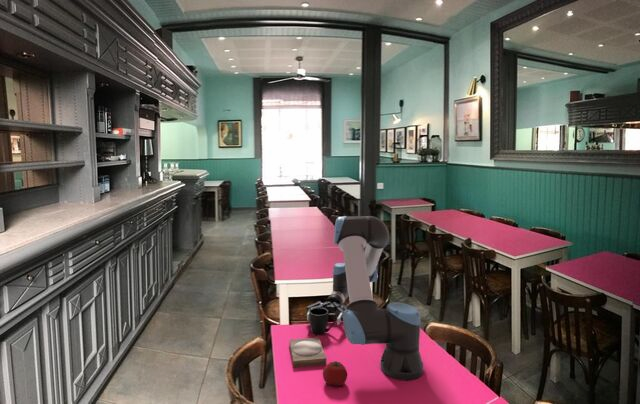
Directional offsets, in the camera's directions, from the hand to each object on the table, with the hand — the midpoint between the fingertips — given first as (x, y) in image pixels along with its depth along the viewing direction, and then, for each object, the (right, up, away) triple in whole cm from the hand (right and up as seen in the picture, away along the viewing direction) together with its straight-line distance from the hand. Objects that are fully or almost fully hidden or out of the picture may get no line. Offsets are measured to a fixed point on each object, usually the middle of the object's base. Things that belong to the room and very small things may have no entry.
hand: (322, 319), depth 166 cm
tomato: (+4, -11, -35) cm, 37 cm away
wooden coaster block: (-6, -8, -18) cm, 20 cm away
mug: (0, -6, 0) cm, 6 cm away
